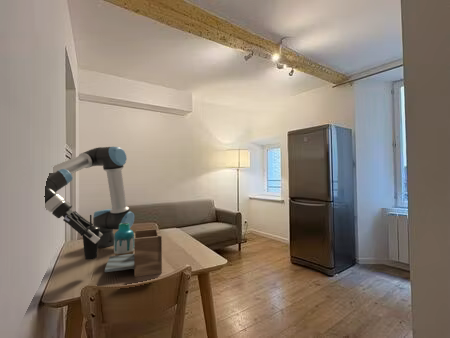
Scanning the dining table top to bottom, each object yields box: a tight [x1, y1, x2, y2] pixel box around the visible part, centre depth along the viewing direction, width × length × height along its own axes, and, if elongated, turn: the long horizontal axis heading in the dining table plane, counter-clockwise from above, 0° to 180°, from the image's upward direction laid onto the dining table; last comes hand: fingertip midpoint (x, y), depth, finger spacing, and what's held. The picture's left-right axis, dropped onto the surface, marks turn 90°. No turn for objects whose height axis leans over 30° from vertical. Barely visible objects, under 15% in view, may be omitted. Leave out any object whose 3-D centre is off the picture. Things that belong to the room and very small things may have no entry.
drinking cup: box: [82, 214, 100, 261], centre depth 114 cm, size 8×8×20 cm
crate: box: [104, 228, 163, 278], centre depth 119 cm, size 18×24×17 cm
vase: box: [113, 223, 135, 256], centre depth 135 cm, size 11×11×19 cm
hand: (99, 238), depth 115 cm, fingers closed on drinking cup, 7 cm apart
